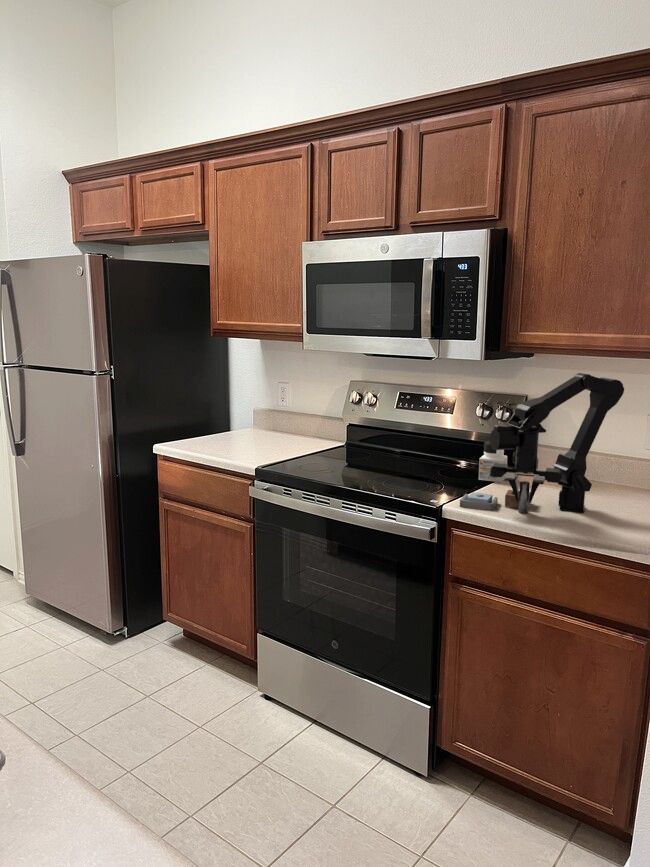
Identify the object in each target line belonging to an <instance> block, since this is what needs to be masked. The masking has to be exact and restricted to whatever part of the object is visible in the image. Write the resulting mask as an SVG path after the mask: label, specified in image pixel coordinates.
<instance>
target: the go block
mask: <svg viewBox="0 0 650 867" xmlns="http://www.w3.org/2000/svg"><path fill="white" fill-rule="evenodd" d="M530 492H531V491H529V498H530ZM519 493H520V490H519ZM530 505H531V503H529V504H528V508H529V507H530ZM505 507H506V508H514V509H519V501H518V502H517V501H516V498H515V495H514V492H513V489H508V490H507V491H506V494H505V496H504V508H505Z"/></svg>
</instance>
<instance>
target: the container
mask: <svg viewBox="0 0 650 867" xmlns="http://www.w3.org/2000/svg"><path fill="white" fill-rule="evenodd" d="M504 453H505V450H493V449H492V448H491V446H490V441H489V440H487V441H485V442H484V443H483V455H481V457H479V464H478V480H479V481H486V482H494V483H495V482H496V483H502V482H503V481H504V480H505V478H506V474H504V475H503V476H502V477H492V476H490V469H491V467H492V466H493V465H494V464H495V463H499V464H507V465H508V455H506V454H505V455H504Z"/></svg>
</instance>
